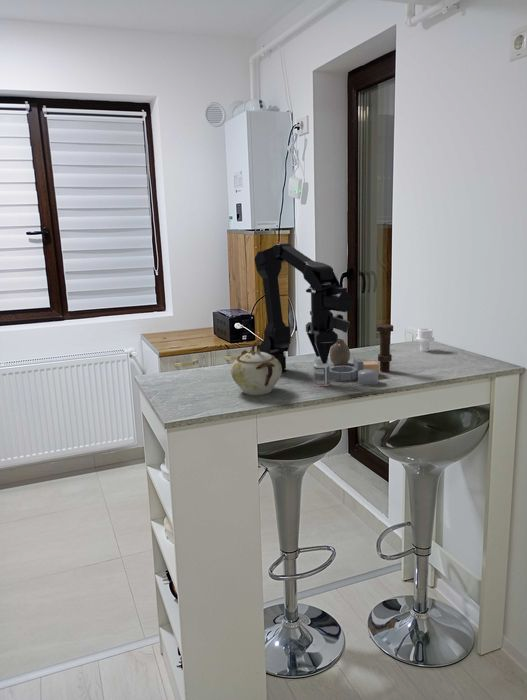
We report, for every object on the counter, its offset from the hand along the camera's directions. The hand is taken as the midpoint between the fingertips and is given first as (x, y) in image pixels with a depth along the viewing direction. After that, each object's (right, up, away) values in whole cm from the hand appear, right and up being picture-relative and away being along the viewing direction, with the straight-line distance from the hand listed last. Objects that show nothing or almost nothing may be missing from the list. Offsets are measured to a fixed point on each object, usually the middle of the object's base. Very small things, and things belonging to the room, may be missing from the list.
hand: (321, 359), depth 177 cm
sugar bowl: (-19, -9, -3) cm, 22 cm away
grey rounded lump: (+14, -7, +2) cm, 16 cm away
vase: (+9, -2, +25) cm, 27 cm away
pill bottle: (0, -8, +2) cm, 8 cm away
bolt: (+22, -4, +14) cm, 27 cm away
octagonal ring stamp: (+11, -5, +9) cm, 15 cm away
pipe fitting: (+42, +2, +41) cm, 59 cm away
